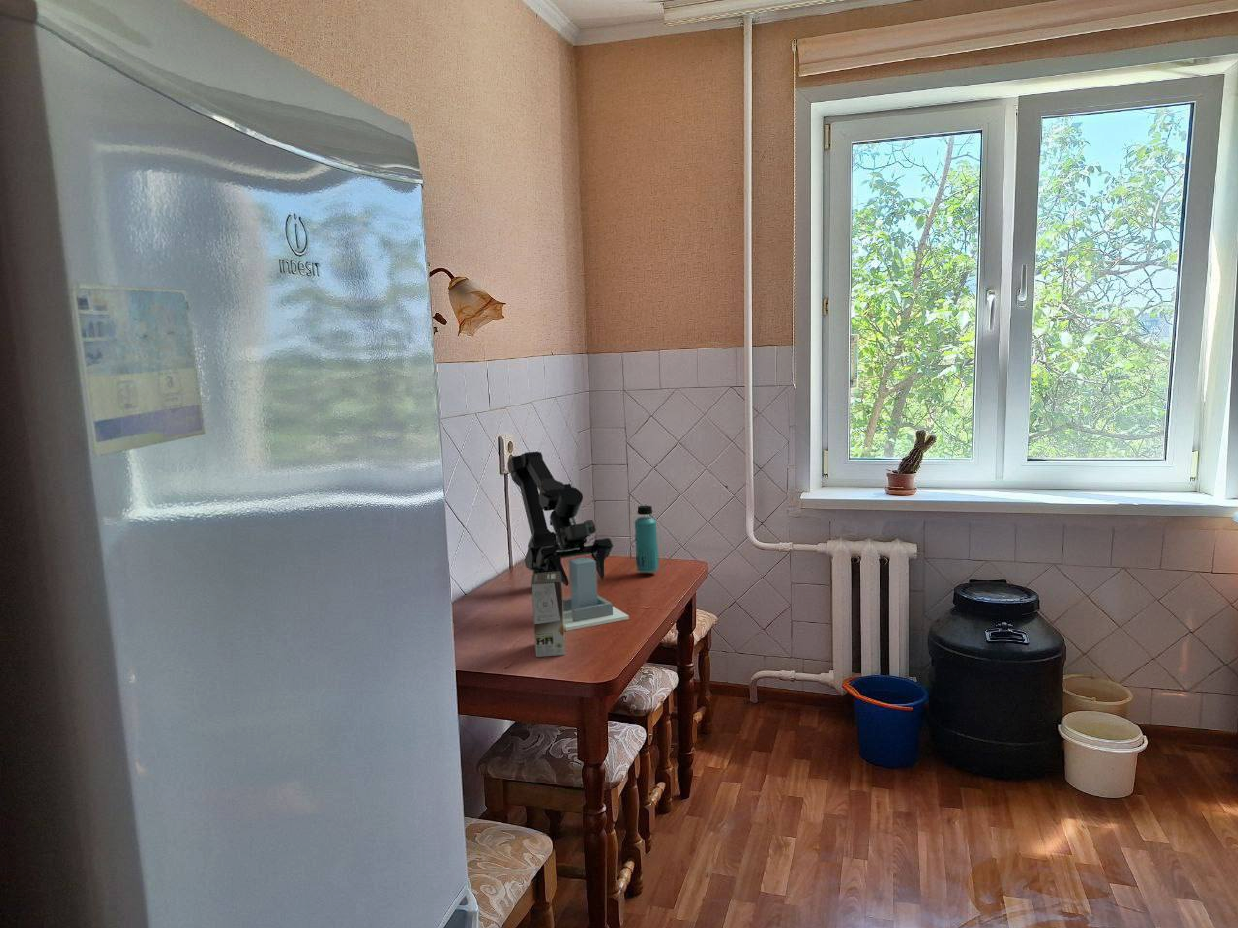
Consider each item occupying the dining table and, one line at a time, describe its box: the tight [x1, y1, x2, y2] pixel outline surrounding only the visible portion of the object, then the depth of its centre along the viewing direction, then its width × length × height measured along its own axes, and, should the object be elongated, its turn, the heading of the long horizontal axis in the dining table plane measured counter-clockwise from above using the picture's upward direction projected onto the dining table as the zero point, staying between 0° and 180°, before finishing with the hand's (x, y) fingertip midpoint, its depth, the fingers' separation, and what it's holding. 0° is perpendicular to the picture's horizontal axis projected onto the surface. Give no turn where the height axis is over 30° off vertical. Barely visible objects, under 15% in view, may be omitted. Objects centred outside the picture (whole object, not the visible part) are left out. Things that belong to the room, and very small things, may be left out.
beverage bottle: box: [634, 505, 660, 573], centre depth 235 cm, size 6×7×20 cm
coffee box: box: [530, 572, 565, 658], centre depth 178 cm, size 9×6×16 cm
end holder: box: [562, 595, 630, 632], centre depth 201 cm, size 16×16×4 cm
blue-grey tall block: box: [568, 556, 598, 610], centre depth 200 cm, size 5×5×13 cm
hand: (585, 581), depth 199 cm, fingers open, 9 cm apart
